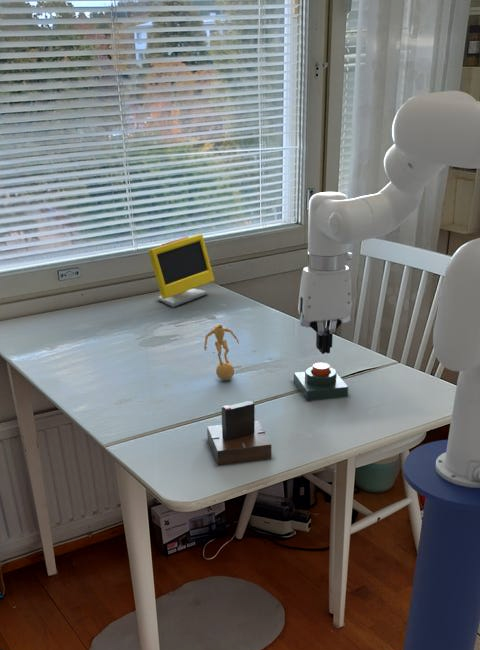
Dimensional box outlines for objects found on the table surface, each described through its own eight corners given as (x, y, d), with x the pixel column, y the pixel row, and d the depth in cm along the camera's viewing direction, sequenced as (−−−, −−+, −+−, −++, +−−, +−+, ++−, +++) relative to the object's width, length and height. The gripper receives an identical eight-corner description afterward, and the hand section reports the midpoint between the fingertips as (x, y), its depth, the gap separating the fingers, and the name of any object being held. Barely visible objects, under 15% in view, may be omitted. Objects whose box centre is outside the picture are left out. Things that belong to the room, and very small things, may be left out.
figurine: (212, 386, 170) (210, 333, 163) (200, 376, 175) (198, 324, 168) (246, 379, 173) (245, 326, 167) (233, 369, 178) (232, 318, 171)
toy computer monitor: (166, 310, 211) (162, 250, 202) (146, 304, 215) (141, 245, 206) (215, 292, 224) (213, 234, 215) (195, 286, 228) (192, 230, 219)
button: (331, 375, 165) (332, 368, 164) (315, 377, 165) (315, 369, 164) (326, 369, 168) (326, 361, 167) (310, 371, 168) (310, 363, 167)
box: (347, 396, 165) (348, 378, 163) (306, 401, 164) (307, 383, 162) (332, 377, 173) (333, 360, 171) (293, 382, 172) (294, 364, 170)
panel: (271, 459, 144) (272, 443, 142) (217, 465, 142) (217, 450, 140) (258, 434, 152) (258, 419, 150) (206, 440, 150) (206, 425, 148)
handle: (250, 429, 147) (250, 399, 143) (254, 433, 146) (254, 402, 142) (222, 436, 145) (221, 406, 141) (226, 440, 143) (225, 409, 140)
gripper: (356, 253, 157) (351, 341, 168) (284, 259, 155) (284, 349, 165) (369, 262, 151) (364, 353, 161) (295, 269, 149) (294, 361, 159)
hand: (323, 351), depth 163 cm, fingers closed
